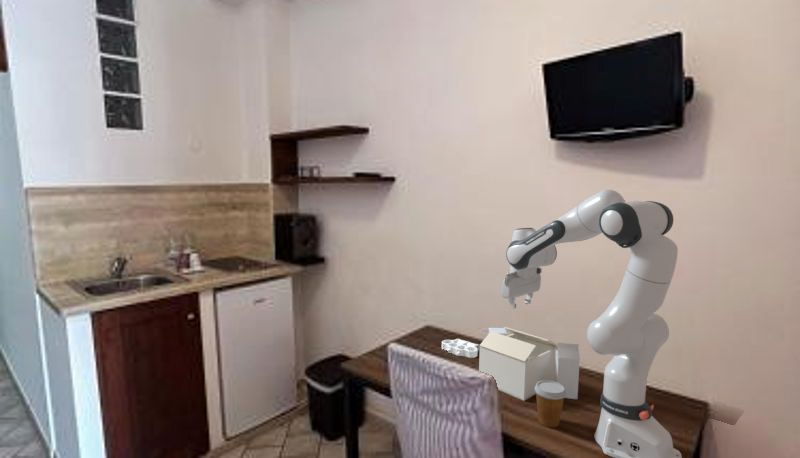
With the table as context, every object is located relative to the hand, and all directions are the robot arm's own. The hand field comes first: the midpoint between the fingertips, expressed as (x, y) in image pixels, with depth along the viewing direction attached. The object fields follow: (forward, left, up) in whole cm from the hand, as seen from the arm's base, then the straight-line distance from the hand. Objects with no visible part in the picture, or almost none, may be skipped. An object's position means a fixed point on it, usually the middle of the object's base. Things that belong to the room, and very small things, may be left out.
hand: (520, 306), depth 170 cm
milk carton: (-17, -4, -30) cm, 35 cm away
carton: (0, +1, -30) cm, 30 cm away
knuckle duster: (+35, -7, -31) cm, 47 cm away
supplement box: (+19, -12, -30) cm, 37 cm away
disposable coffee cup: (-23, +18, -30) cm, 42 cm away
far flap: (0, -7, -14) cm, 15 cm away
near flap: (0, +8, -14) cm, 16 cm away
